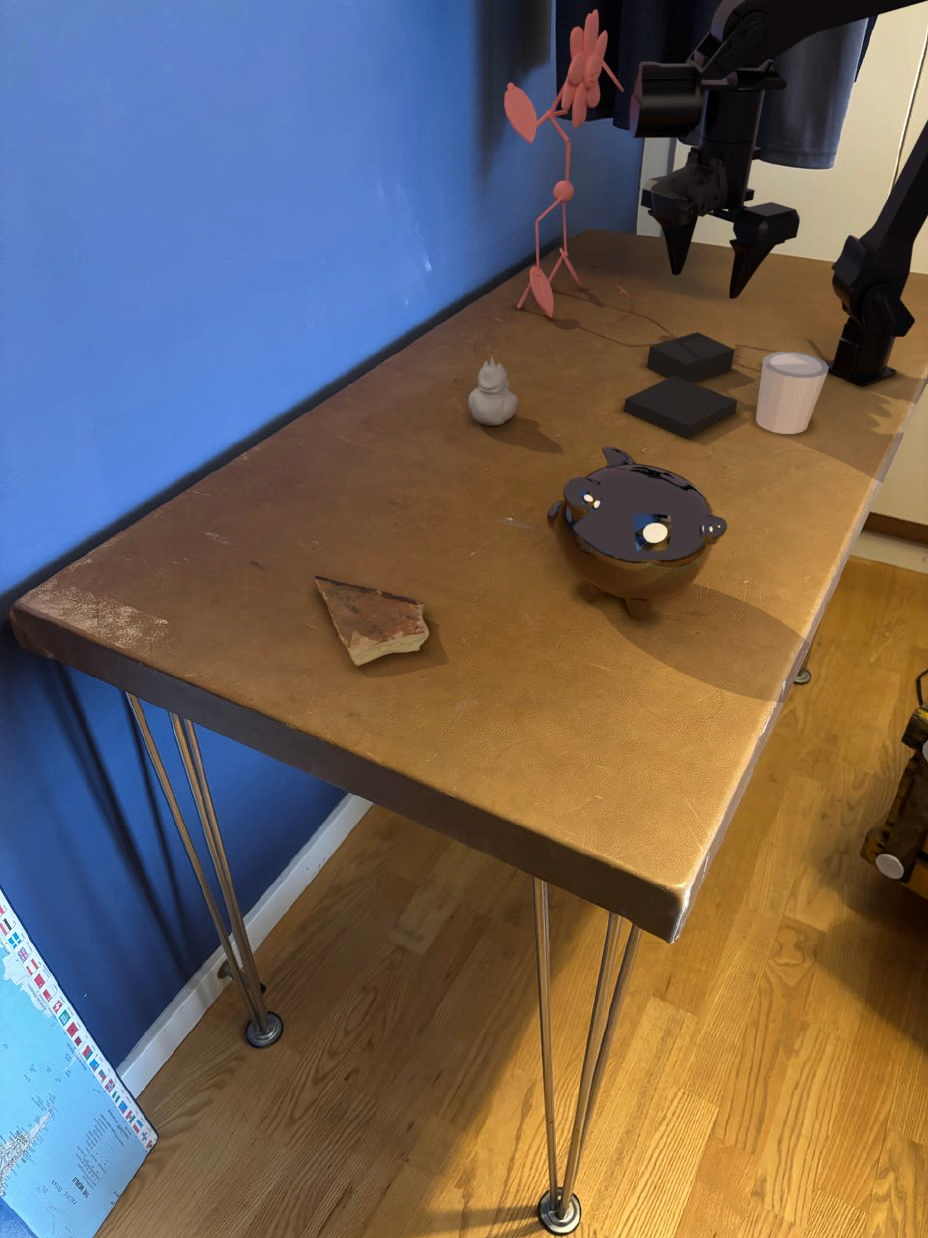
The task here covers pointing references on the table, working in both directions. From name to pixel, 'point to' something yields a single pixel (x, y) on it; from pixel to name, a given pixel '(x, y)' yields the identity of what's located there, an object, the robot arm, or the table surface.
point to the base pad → (680, 406)
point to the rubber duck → (492, 396)
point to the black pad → (690, 357)
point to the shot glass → (789, 391)
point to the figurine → (522, 116)
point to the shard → (373, 620)
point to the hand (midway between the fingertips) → (704, 285)
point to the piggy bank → (634, 531)
